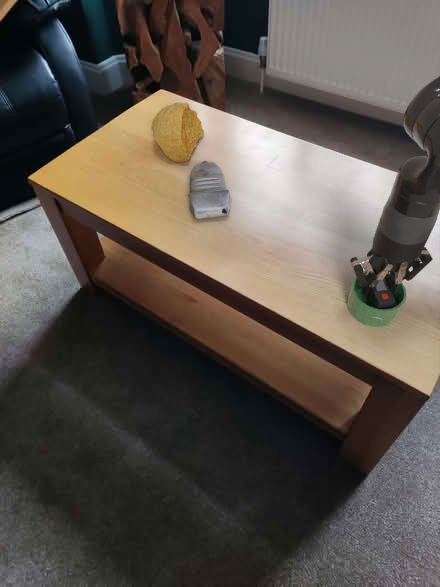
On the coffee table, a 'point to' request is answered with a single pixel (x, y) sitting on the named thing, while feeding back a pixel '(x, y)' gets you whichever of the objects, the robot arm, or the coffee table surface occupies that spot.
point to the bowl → (365, 309)
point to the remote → (382, 296)
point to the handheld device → (208, 191)
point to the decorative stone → (177, 131)
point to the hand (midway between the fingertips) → (377, 293)
